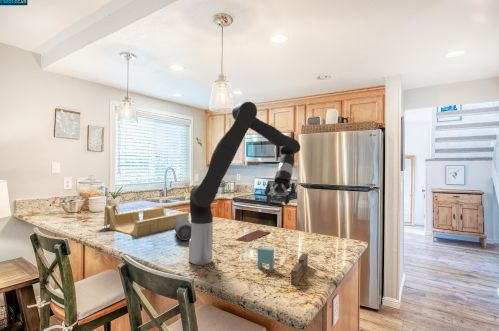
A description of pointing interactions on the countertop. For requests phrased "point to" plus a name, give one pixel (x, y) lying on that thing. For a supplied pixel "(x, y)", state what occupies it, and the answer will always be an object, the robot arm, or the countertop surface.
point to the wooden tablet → (253, 236)
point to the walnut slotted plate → (299, 269)
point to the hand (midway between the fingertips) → (276, 203)
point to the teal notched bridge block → (266, 257)
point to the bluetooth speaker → (183, 228)
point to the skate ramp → (132, 224)
